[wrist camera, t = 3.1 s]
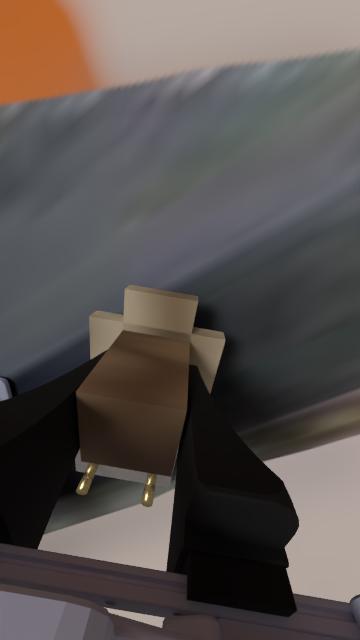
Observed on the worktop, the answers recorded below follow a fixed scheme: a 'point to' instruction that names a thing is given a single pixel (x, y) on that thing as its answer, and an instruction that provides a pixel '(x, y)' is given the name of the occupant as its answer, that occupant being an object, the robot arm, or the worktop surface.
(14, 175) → the worktop surface
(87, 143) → the worktop surface
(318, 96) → the worktop surface
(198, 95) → the worktop surface
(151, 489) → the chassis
